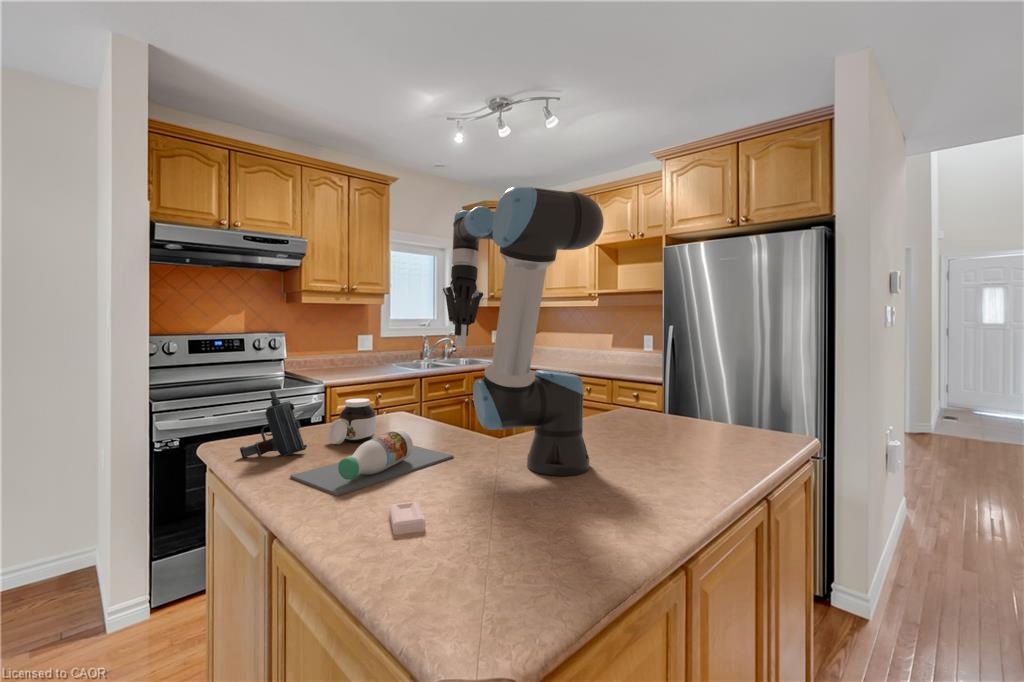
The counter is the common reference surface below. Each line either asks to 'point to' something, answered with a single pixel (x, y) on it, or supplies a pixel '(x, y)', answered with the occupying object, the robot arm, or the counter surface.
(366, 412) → the spread jar
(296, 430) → the gun
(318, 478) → the rubber mat
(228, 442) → the counter surface
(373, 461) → the milk bottle
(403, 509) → the soap bar
